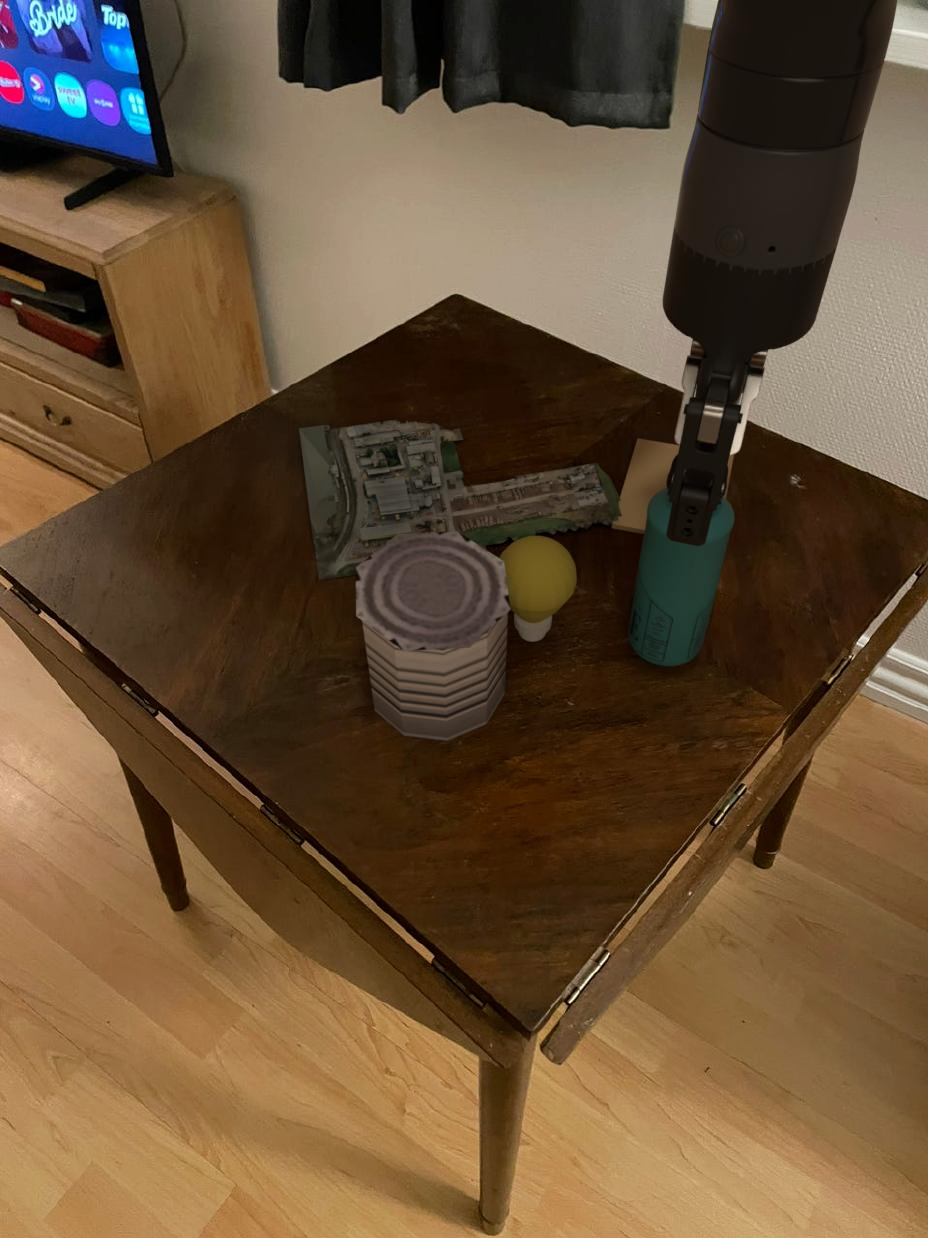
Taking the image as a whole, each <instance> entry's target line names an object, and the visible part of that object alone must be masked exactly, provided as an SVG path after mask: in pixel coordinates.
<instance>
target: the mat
mask: <svg viewBox="0 0 928 1238" xmlns="http://www.w3.org/2000/svg"><path fill="white" fill-rule="evenodd" d="M679 447H680V445H678V444H674V443H667V442H663V441H656V440H650V439H645V438H640V437H639V438H637V439H636V441H635V446H634V449H633V452H632V456H631V460H630V462H629V466H628V469H627V473H626V475H625V479H624V483H623V486H622V489H621V492H620V495H619V497H620V499H621V500H620V501H617V502H618V504H619V508H620V512H621V514H622V516H618V521H613V522H612V523H611V529H613V530H619V531H624V532H630V533H635V534H639V535H644V532H645V526H646V520H647V508H648V504H649V502H650V500H651V499H652V497H653V496H654V495H655V494H656V493H658V492H659V491H661V490H662V489H664V488H667V486H666V482H667V476H668V473H669V471H670V468H671V465H672V462H673V459H674V458H675V456H676V455H677V454H678V452H679ZM734 457H735V454H733V455H731V456H729V460H728V477H727V488H726V492H725V494H724V496H723V497H724V498H725V499H726V500H727V496H728V490H729V485H730V480H731V474H732V468H733V464H734V463H733V462H734Z"/></svg>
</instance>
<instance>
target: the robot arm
mask: <svg viewBox="0 0 928 1238" xmlns="http://www.w3.org/2000/svg"><path fill="white" fill-rule="evenodd" d="M897 5H898V0H717V4H716V8H715V12H714V17H713V21H712V25H711V31H710V37H709V42H708V47H707V51H706V57H705V65H704V70H703V77H702V84H701V90H700V95H699V101H698V107H697V115H696V118H695V123H694V128H693V132H692V135H691V139H690V143H689V145H688V149H687V152H686V156H685V160H684V163H683V168H682V173H681V178H680V186H679V193H678V198H677V205H676V212H675V217H674V218H675V219H674V224H673V231H672V236H671V242H670V249H669V255H668V262H667V267H666V274H665V281H664V288H663V294H662V308H663V313H664V314H665V315H664V316H665V317H666V318H667V320H668V321H669V323H670V324H671V326H673V328H675V329H676V330H677V331H678V332H679V333H681V334H683V335H684V336H686V337H689V338H690V339H692V341H691V345H690V351H689V354H687V355H686V360H685V365H684V369H683V373H682V378H681V386H682V389H683V396H682V400H681V403H680V409H679V413H678V418H677V422H676V426H675V430H674V431H675V432H674V441H675V443H676V445H680V447H679V452H678V457H677V462H676V467H675V472H674V474H673V477H672V482H671V483H672V486H671V485H669V489H668V494H667V495H670V497H669V502H671V503H672V508H671V513H670V518H669V523H668V528H667V533H666V535H667V537H668V539H670V540H671V541H674V542H679V543H684V544H689V545H694V546H701V545H703V544H704V543H705V542H706V539H707V534H708V530H709V526H710V522H711V518H712V514H713V511H716V509H717V505H718V504H719V505H721V501H722V497H723V495H720V493H723V490H724V486H725V483H723V481H724V477H725V473H726V469H727V465H728V460H729V456H731V455H736V454H737V453H739V452H740V450H741V449H742V445H743V444H742V443H743V440H744V437H745V432H746V428H747V424H748V419H749V416H750V410H751V406H752V403H753V402H754V401H756V399H758V396H759V394H760V391H761V387H762V386H761V385H762V382H763V378H764V373H765V369H766V367H765V364H766V360H767V357H768V352H769V350H777V349H781V348H784V347H788V346H790V345H792V344H794V343H796V342H798V341H799V340H801V339H802V338H804V336H806V335H807V334H808V333H809V332H810V331H811V329H812V328H813V326H814V324H815V322H816V319H817V316H818V313H819V310H820V306H821V303H822V299H823V296H824V292H825V289H826V285H827V282H828V279H829V275H830V273H831V272H830V271H831V268H832V265H833V262H834V258H835V255H836V251H837V248H838V245H839V241H840V238H841V233H842V230H843V227H844V223H845V221H846V217H847V213H848V211H849V207H850V203H851V199H852V196H853V193H854V188H855V184H856V180H857V174H858V167H859V161H860V153H861V149H862V141H863V138H864V134H865V129H866V126H867V124H868V120H869V117H870V114H871V109H872V106H873V104H874V103H873V102H874V99H875V96H876V95H875V94H876V92H877V89H878V85H879V81H880V78H881V75H882V71H883V68H884V64H885V59H886V56H887V54H888V48H889V45H890V39H891V36H892V33H893V28H894V24H895V23H894V22H895V19H896V18H895V17H896V12H897ZM687 469H695V470H700V471H705V472H710V473H712V474H708V473H703V472H697V471H692V470H687ZM686 470H687V471H686Z"/></svg>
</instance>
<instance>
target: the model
mask: <svg viewBox="0 0 928 1238" xmlns="http://www.w3.org/2000/svg"><path fill="white" fill-rule="evenodd" d="M461 431H462V430H461V428H460V427H458V428H455V429H450V428H447V427H446V428H445V427H444V426H442V425H440V424H437V423H435V422H431V423H426V422H425V423H423V422H417V420H414V421H408V420H407V419H405V422H400V421H399V420H397V419H392V420H390V419H389V420H385V421H382V422H381V421H377V422H371V423H370V422H369V423H363V424H356V425H349V426H348V425H347V426H343V427H336V428H330V425H329V424H320V425H313V426H306V427H300V428H298V432H299V440H300V447H301V455H302V463H303V471H304V479H305V480H304V481H305V487H306V494H307V503H308V510H309V519H310V527H311V536H312V543H313V544H314V552H315V553H314V554H315V561H316V569H317V577H318V581H324V580H330V579H335V578H341V577H349V576H356V567H357V566H358V565H360V564H361V563H362V562H363V561H365V560H366V559H367V558H368V557H370V556H371V555H372V554H373V553H375V552H376V551H377V550H378V549H380V548H381V547H382V546H383V545H385V544H386V543H387V542H388V541H390V540H391V539H392V538H393V537H395V536H396V535H397V534H408V533H434V532H459V533H461V534H462V535H464V536H465V537H467V538H468V539H470V540H472V541H473V542H475V543H476V544H478V545H479V546H481V547H482V548H484V549H485V550H487V546H490V545H491V546H492V545H496V544H497V545H498V544H504V543H505V542H506V541H508V539H509V538H511V540H512V541H513V542H515V541H517V540H519V539H521V538H524V537H528V536H537V535H536V534H541V533H548V534H550V535H555V534H556V532H557V531H559V532H562V533H564V534H566V532H567V531H568V529H570V530H571V531H573V532H577V531H578V530H579V528H582V529H585V530H588V529H589V528H590V527H591V526H592V524H598V523H599V524H603V525H606V526H608V527H610V526H611V525H612V522H613V521H618V516H622V514H621V512H620V508H619V504H618V502H619V501H620V500H621V499H620V495H619V493H618V491H617V489H616V487H615V485H614V483H613V481H612V478H611V476H610V475H609V474H607V473H606V472H605V471H604V470H603V469H602V468H601V467H600V464H599V463H598V462H592V463H586V464H583V465H577V466H573V467H572V466H571V467H566V468H559V469H552V470H545V471H539V472H533V473H525V474H519V475H514V477H515V478H510V479H507V480H502V481H495V482H490V483H483V484H477V485H470V486H467V485H465V484H464V481H463V478H465V475H464V472H463V468H462V466H461V461H460V458H459V455H458V452H457V449H456V448H458V446H457V445H455V442H458V441H463V440H464V438H463V435H462V432H461Z"/></svg>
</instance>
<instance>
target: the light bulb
mask: <svg viewBox="0 0 928 1238" xmlns="http://www.w3.org/2000/svg"><path fill="white" fill-rule="evenodd" d="M498 558H499V559H501V560H502V561H504V565H505V572H506V579H507V586H508V593H509V601H510V608H511V609H510V611H512V613H513V614H514V615H513V616H514V617H513V625H514V627H515V629H516V631H518V634H519V637H520V638H521V639H523V640H524V641H526V642H539V641H541V640H543V639H544V637H545V636H546V634H547V633H548V632H549V631H550V630H551V627H552V624H553V615H554V614H556V613H557V612H558V611H559V610H560V609H561V608H562V607H563V606H564V604H566V603H567V602H568V600H570V599H571V597H572V596H573V595H574V592H575V589H576V587H577V581H578V578H577V576H578V575H577V567H576V563H575V561H574V559H573V557H572V555H571V554H570V551H568V549H567V548H566V547H565V546H563V544H561V543H560V542H558V541H557V540H555V539H553V538H550V537H547V536H543V535H536V536H528V537H524V538H521V539H519V540H517V541H513V542H511V544H510V545H508V546H507V547H506V548H504V550H503V551H502V552H501V553H500V555H499V557H498Z"/></svg>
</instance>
